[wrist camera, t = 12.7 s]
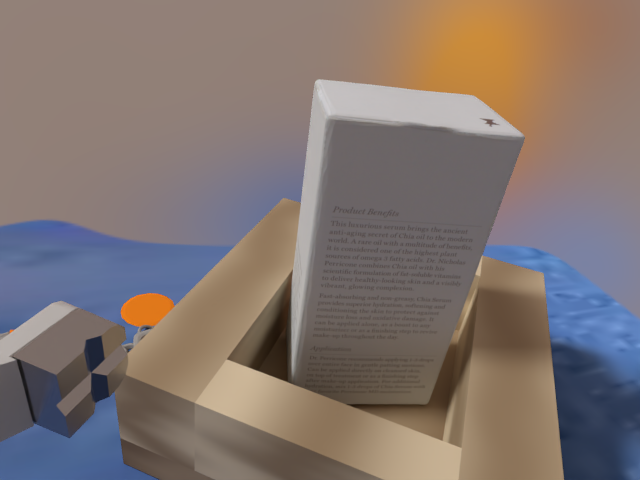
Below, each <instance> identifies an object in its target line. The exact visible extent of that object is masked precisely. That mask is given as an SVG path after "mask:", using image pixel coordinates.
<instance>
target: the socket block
mask: <svg viewBox="0 0 640 480" xmlns="http://www.w3.org/2000/svg"><path fill="white" fill-rule="evenodd" d="M300 207H301V203H299V202H296V201H292V200H289V199H286V198H283V199H282V200H281V201H280V202H279V203H278V204H277V205H276V206H275V207H274V208H273V209H272V210H271V211H270V212H269V213H268V214H267V215H266V216H265V217H264V218H263V219H262V220H261V221H260V222H259V223H258V224H257V225H256V226H255V227H254V228H253V229H252V230H251V231H250V232H249V233H248V234H247V235H246V236H245V237H244V238H243V239H242V240H241V241H240V242H239V243H238V244H237V245H236V246H235V247H234V248H233V249H232V250H231V251H230V252H229V253H228V254H227V255H226V256H225V257H224V258H223V259H222V260H221V261H220V262H219V263H218V264H217V265H216V266H215V267H214V268H213V269H212V270H211V271H210V272H209V273H208V274H207V275H206V276H205V277H204V278H203V279H202V280H201V281H200V282H199V283H198V284H197V285H196V286H195V287H194V288H193V289H192V290H191V291H190V292H189V293H188V294H187V295H186V296H185V297H184V298H183V299H182V300H181V301H180V302H179V303H178V304H177V305H176V306H175V307H174V308H173V309H172V310H171V311H170V312H169V313H168V314H167V315H166V316H165V317H164V318H163V319H162V320H161V321H160V322H159V323H158V324H157V325H156V326H155V327H154V328H153V329H152V330H151V331H150V332H149V333H148V334H147V335H146V336H145V337H144V338H143V339H142V340H141V341H140V342H139V343H138V344H137V345H136V346H135V347H134V348H133V349H132V350H131V351H130V352H129V353H128V367H127V372H126V375H125V376H124V378H123V380H122V382H121V384H120V386H119V387H118V388H117V389H116V390H115V399H116V407H117V414H118V422H119V430H120V438H121V446H122V454H123V462H124V464H126V465H129V466H131V467H133V468H135V469H138V470H140V471H142V472H144V473H146V474H149V475H151V476H153V477H155V478H157V479H160V480H564V475H563V465H562V455H561V445H560V435H559V425H558V415H557V404H556V394H555V384H554V374H553V364H552V354H551V344H550V334H549V324H548V314H547V304H546V294H545V284H544V274H543V273H540V272H537V271H533V270H530V269H527V268H523V267H520V266H516V265H513V264H509V263H506V262H502V261H499V260H496V259H492V258H489V257H485V256H482V257H481V260H480V262H479V265H478V268H477V271H476V274H475V277H474V280H473V282H472V285H471V288H470V290H469V293H468V296H467V298H466V301H465V304H464V307H463V310H462V312H461V315H460V318H459V320H458V323H457V326H456V329H455V331H454V334H453V337H452V340H451V342H450V345H449V348H448V351H447V353H446V356H445V359H444V362H443V364H442V367H441V370H440V373H439V375H438V378H437V381H436V384H435V386H434V389H433V392H432V395H431V397H430V400H429V402H428V404H425V405H420V404H343V403H341V402H338V401H336V400H333V399H330V398H328V397H325V396H322V395H320V394H317V393H314V392H312V391H309V390H306V389H304V388H301V387H299V386H296V385H293V384H291V383H288V376H287V346H286V325H287V317H288V309H289V301H290V292H291V284H292V275H293V267H294V258H295V250H296V242H297V233H298V224H299V215H300Z"/></svg>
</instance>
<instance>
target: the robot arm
mask: <svg viewBox="0 0 640 480" xmlns="http://www.w3.org/2000/svg"><path fill="white" fill-rule="evenodd" d="M125 340H126V334H125V327H123V326H121V325H118V324H116V323H114V322H111V321H109V320H106V319H104V318H102V317H99V316H97V315H95V314H92V313H90V312H88V311H85V310H83V309H80V308H78V307H75V306H73V305H70V304H68V303H66V302H63V301H59V302H55V303H52V304H50V305H49V306H48V307H46V308H45V309H43V310H42V311H41V312H39V313H38V314H36V315H35V316H34V317H32V318H31V319H29V320H28V321H26V322H25V323H24V324H22V325H21V326H19V327H18V328H17V329H15V330H14V331H12V332H11V333H10V334H8V335H7V336H5V337H4V338H3V339H1V340H0V442H1V441H3V440H5V439H8V438H10V437H12V436H14V435H16V434H18V433H20V432H22V431H24V430H26V429H28V428H30V427H33V426H34V423H35V424H37V425H39V426H42V427H44V428H46V429H49V430H51V431H53V432H56V433H58V434H61V435H63V436H65V437H68V438H70V437H71V436H72V435H73V434H74V433H75V432H76V431H77V430H78V429H79V428H80V427H81V426H82V425H83V424H84V423H85V422H86V421H87V420H88V419H89V418H90V417H91V416H92V415H93V414H94V409H95V402H97V401H100V400H102V399H105V398H108V397H110V396H111V395H112V393H113V392H114V391H115V390H116V389H117V388H118V387H119V386H120V384H121V382H122V380H123V378H124V376H125V375H126V372H127V367H128V354H127V353H126V351H125V350H124V348H123V347H122V345H121V344H122V343H123V342H124V341H125Z"/></svg>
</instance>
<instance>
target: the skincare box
mask: <svg viewBox="0 0 640 480" xmlns="http://www.w3.org/2000/svg"><path fill="white" fill-rule="evenodd" d="M524 139H525V137H524V135H523V134H522V133H521V132H520V131H519V130H517V129H516V128H515V127H514V126H512V125H511V124H510V123H508V122H507V121H506V120H504V119H503V118H502V117H501V116H500V115H498V114H497V113H496V112H495V111H493V110H492V109H491V108H490V107H488V106H487V105H486V104H485V103H483V102H482V101H480V100H479V99H478V98H476V97H475V96H473V95H464V94H452V93H441V92H429V91H420V90H409V89H403V88H396V87H387V86H377V85H368V84H358V83H350V82H340V81H330V80H319V79H318V80H317V81H316V82H315V87H314V94H313V103H312V111H311V120H310V129H309V137H308V146H307V155H306V163H305V172H304V181H303V190H302V199H301V207H300V215H299V224H298V233H297V242H296V250H295V258H294V267H293V275H292V284H291V292H290V301H289V309H288V317H287V325H286V346H287V376H288V383H291V384H293V385H296V386H299V387H301V388H304V389H306V390H309V391H312V392H314V393H317V394H320V395H322V396H325V397H328V398H330V399H333V400H336V401H338V402H341V403H343V404H420V405H425V404H428V402H429V400H430V397H431V395H432V392H433V389H434V386H435V384H436V381H437V378H438V375H439V373H440V370H441V367H442V364H443V362H444V359H445V356H446V353H447V351H448V348H449V345H450V342H451V340H452V337H453V334H454V331H455V329H456V326H457V323H458V320H459V318H460V315H461V312H462V310H463V307H464V304H465V301H466V298H467V296H468V293H469V290H470V288H471V285H472V282H473V280H474V277H475V274H476V271H477V268H478V265H479V262H480V260H481V257H482V254H483V252H484V249H485V246H486V243H487V240H488V238H489V235H490V232H491V230H492V227H493V224H494V221H495V218H496V216H497V213H498V210H499V207H500V204H501V202H502V199H503V196H504V194H505V190H506V187H507V185H508V182H509V180H510V177H511V175H512V172H513V169H514V167H515V164H516V161H517V158H518V155H519V153H520V150H521V148H522V145H523V143H524Z"/></svg>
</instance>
